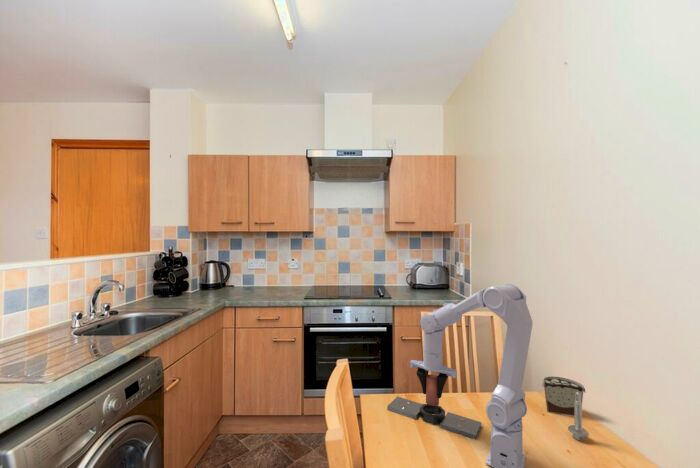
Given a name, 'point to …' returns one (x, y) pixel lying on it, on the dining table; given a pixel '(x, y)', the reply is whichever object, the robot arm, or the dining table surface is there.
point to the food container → (561, 394)
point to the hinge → (436, 417)
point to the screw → (578, 420)
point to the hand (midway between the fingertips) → (432, 395)
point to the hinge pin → (431, 390)
